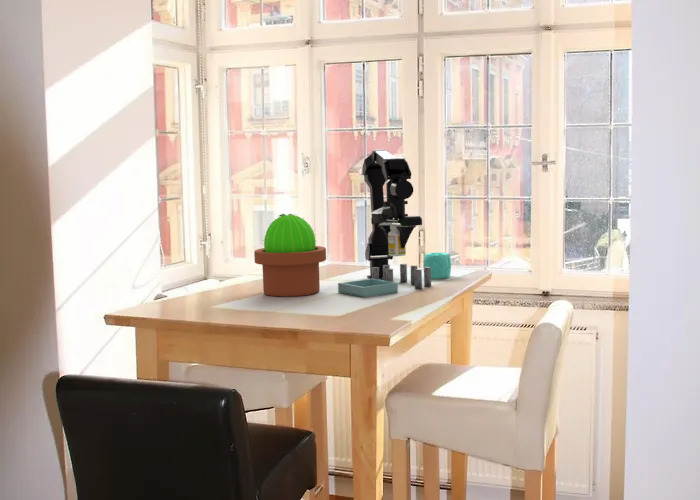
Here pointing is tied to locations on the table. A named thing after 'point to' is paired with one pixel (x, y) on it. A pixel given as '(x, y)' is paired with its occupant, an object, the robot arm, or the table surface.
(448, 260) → the decorative dice
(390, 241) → the supplement bottle
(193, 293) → the table surface
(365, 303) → the table surface
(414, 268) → the spacer field
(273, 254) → the potted cactus
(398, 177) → the robot arm
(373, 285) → the teal tray
